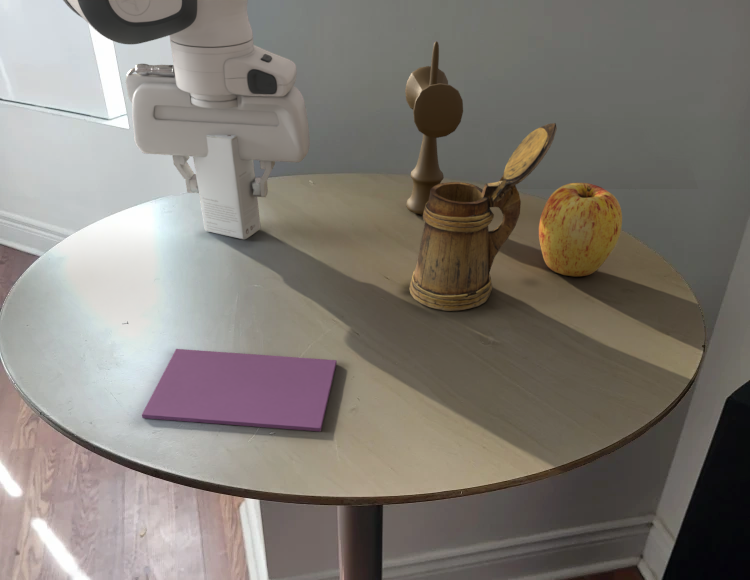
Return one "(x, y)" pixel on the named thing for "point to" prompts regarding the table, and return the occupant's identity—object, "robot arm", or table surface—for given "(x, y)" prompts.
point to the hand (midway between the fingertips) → (228, 193)
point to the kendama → (430, 125)
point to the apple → (579, 228)
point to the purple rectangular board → (243, 390)
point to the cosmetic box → (227, 189)
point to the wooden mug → (471, 231)
